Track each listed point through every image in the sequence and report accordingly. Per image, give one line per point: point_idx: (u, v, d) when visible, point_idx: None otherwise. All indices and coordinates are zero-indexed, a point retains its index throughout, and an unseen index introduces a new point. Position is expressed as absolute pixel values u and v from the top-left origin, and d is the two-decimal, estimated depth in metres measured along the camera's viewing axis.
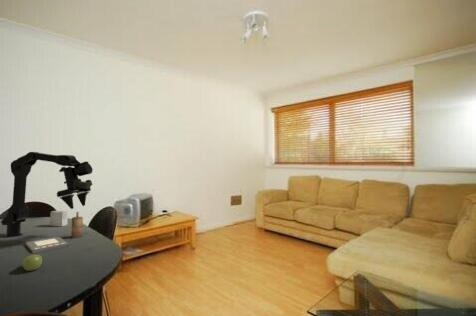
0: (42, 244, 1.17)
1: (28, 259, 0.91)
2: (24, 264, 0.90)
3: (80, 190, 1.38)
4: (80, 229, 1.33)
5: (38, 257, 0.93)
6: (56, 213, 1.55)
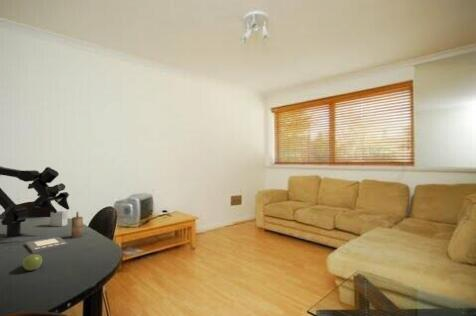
0: (42, 244, 1.17)
1: (28, 259, 0.91)
2: (24, 264, 0.90)
3: (58, 197, 1.39)
4: (80, 229, 1.33)
5: (38, 257, 0.93)
6: (56, 213, 1.55)
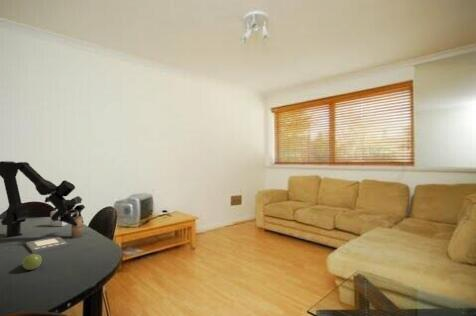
0: (42, 244, 1.17)
1: (28, 258, 0.92)
2: (23, 264, 0.91)
3: (72, 211, 1.36)
4: (80, 229, 1.33)
5: (38, 256, 0.94)
6: None
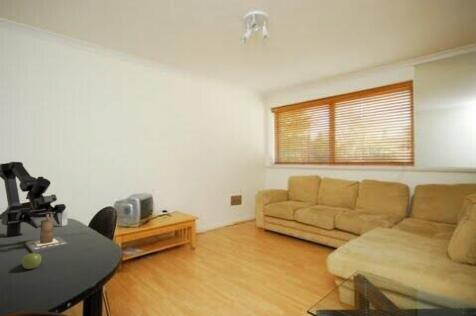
0: (42, 244, 1.17)
1: (27, 258, 0.92)
2: (23, 263, 0.92)
3: (51, 209, 1.26)
4: (47, 234, 1.19)
5: (37, 256, 0.94)
6: None
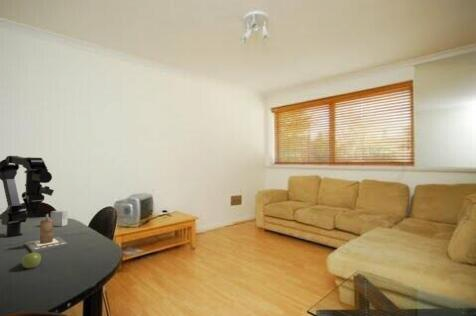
0: (42, 244, 1.17)
1: (27, 257, 0.93)
2: (23, 262, 0.92)
3: None
4: (47, 234, 1.19)
5: (37, 255, 0.95)
6: (56, 213, 1.55)
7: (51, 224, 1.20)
